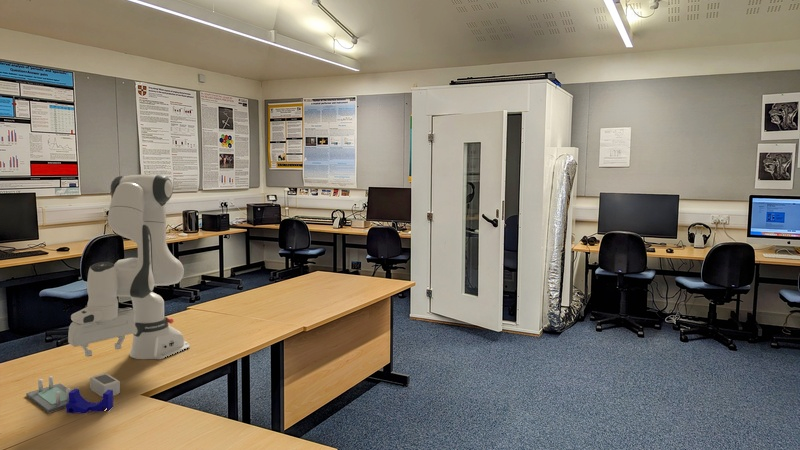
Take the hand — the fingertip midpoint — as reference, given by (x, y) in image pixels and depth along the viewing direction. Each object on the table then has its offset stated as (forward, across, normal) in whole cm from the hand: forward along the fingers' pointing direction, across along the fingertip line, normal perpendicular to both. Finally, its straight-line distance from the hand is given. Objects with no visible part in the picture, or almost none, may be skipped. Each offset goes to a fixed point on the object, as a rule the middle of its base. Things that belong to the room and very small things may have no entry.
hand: (103, 352), depth 175 cm
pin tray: (+14, +12, -7) cm, 20 cm away
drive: (+14, -1, -1) cm, 14 cm away
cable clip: (+15, +8, +9) cm, 19 cm away
